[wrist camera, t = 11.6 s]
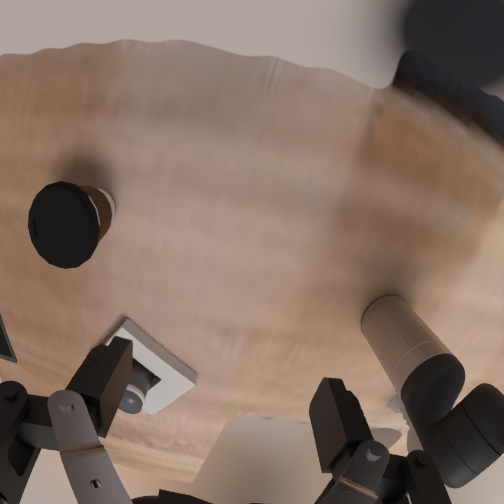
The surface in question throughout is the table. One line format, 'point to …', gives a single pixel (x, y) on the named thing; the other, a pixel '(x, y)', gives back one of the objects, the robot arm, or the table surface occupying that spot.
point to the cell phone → (5, 345)
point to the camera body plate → (157, 368)
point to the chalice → (412, 437)
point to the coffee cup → (69, 222)
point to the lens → (136, 388)
